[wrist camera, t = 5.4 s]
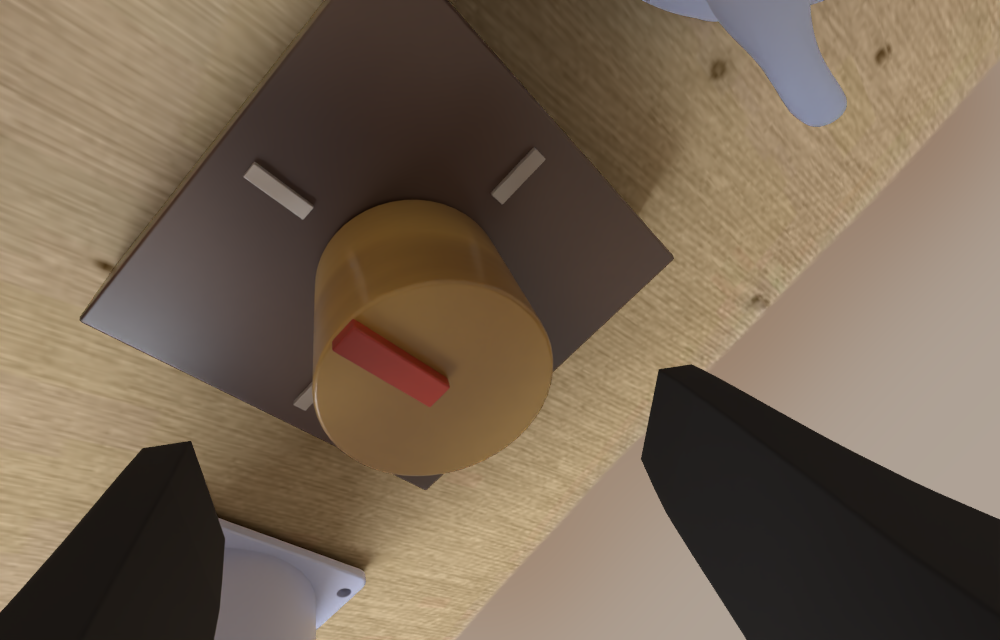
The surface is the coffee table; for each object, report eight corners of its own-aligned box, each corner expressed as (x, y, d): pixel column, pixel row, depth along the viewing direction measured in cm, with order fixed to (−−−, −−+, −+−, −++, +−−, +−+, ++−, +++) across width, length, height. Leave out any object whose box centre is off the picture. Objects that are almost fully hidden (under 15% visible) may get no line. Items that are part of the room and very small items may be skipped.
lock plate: (414, 436, 19) (426, 496, 17) (112, 270, 14) (73, 325, 12) (634, 224, 17) (679, 261, 15) (374, -64, 12) (386, -72, 10)
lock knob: (535, 273, 14) (605, 373, 11) (419, 389, 15) (448, 517, 12) (400, 156, 12) (433, 236, 8) (274, 302, 13) (255, 429, 9)
